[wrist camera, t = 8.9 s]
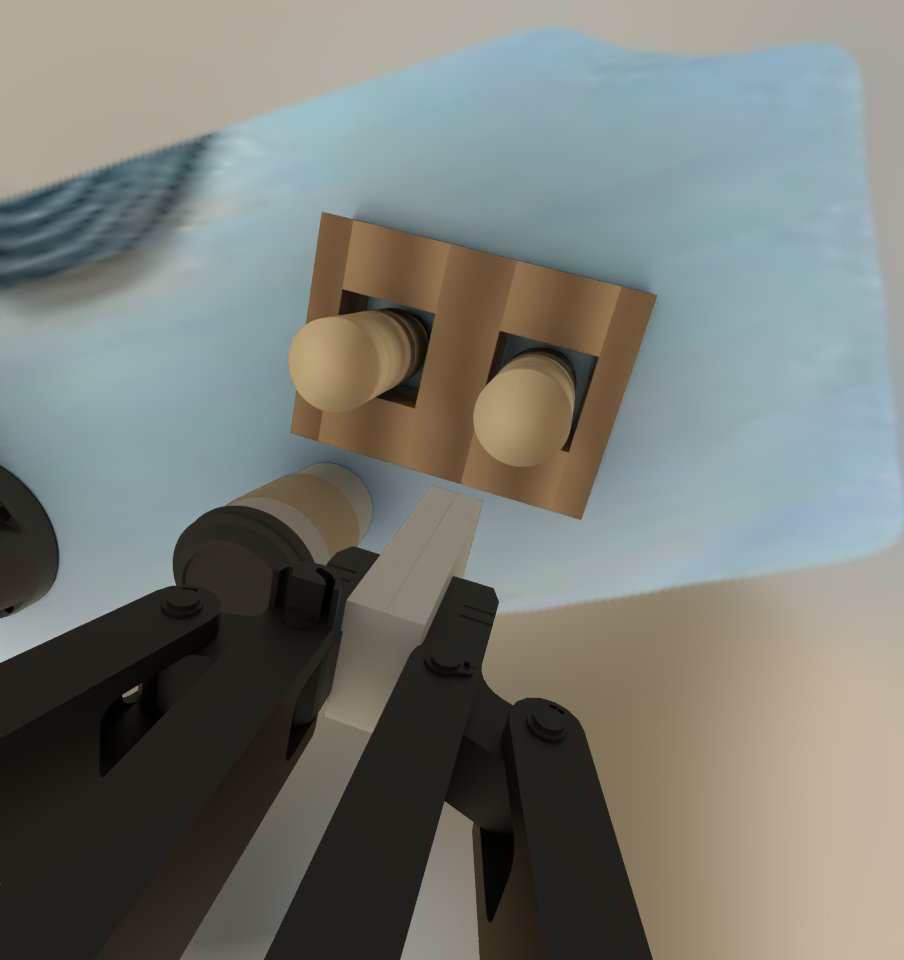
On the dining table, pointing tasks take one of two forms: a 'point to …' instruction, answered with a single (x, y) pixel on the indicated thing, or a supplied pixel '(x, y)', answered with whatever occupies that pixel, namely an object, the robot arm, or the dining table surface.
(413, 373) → the peg
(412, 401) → the board
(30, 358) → the dining table surface
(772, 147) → the dining table surface
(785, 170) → the dining table surface
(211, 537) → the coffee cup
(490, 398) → the peg
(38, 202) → the dining table surface
